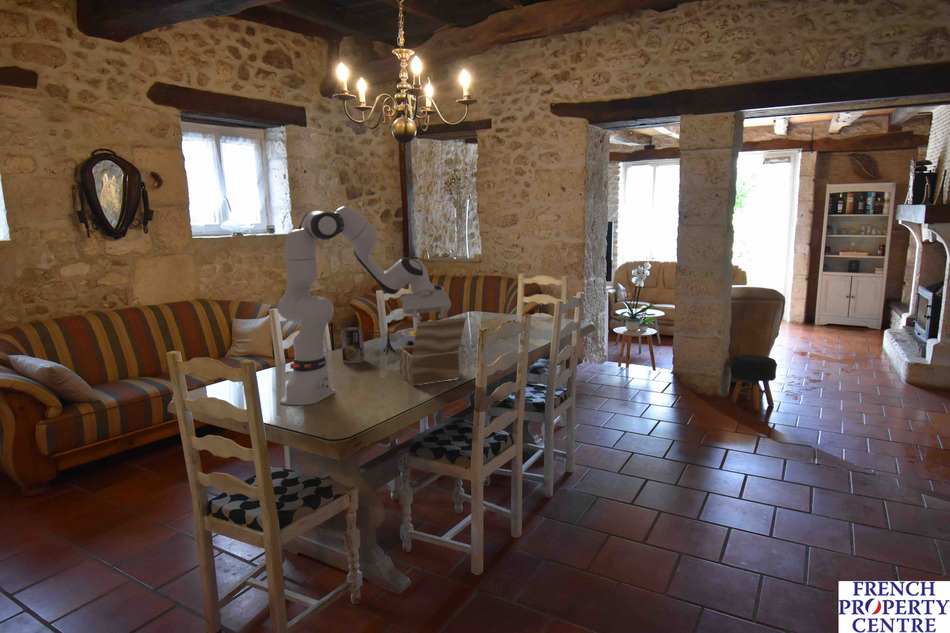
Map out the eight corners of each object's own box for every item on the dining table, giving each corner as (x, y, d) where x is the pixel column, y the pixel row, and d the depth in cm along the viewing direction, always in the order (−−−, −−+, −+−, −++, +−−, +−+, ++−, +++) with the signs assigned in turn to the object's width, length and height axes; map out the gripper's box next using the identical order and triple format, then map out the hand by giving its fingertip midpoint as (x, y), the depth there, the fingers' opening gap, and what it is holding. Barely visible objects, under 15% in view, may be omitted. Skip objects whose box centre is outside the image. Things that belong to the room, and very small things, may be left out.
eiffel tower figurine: (370, 355, 288) (368, 329, 286) (378, 350, 298) (377, 325, 296) (398, 356, 285) (397, 329, 282) (405, 351, 294) (404, 326, 292)
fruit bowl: (391, 342, 314) (390, 322, 312) (429, 334, 333) (428, 314, 331) (425, 350, 294) (424, 328, 292) (463, 340, 313) (462, 320, 311)
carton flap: (417, 322, 218) (418, 323, 218) (465, 317, 225) (465, 318, 225) (412, 355, 230) (412, 356, 230) (457, 350, 237) (458, 351, 237)
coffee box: (365, 359, 277) (363, 327, 274) (361, 363, 271) (359, 329, 268) (346, 359, 278) (344, 327, 275) (342, 363, 272) (340, 329, 269)
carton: (400, 374, 251) (398, 347, 248) (443, 368, 258) (442, 342, 256) (412, 386, 232) (411, 357, 230) (459, 379, 240) (458, 351, 237)
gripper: (399, 289, 236) (407, 316, 229) (447, 286, 244) (455, 312, 236) (397, 299, 241) (404, 326, 234) (444, 295, 248) (452, 321, 241)
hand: (430, 319), depth 235 cm, fingers open, 8 cm apart
